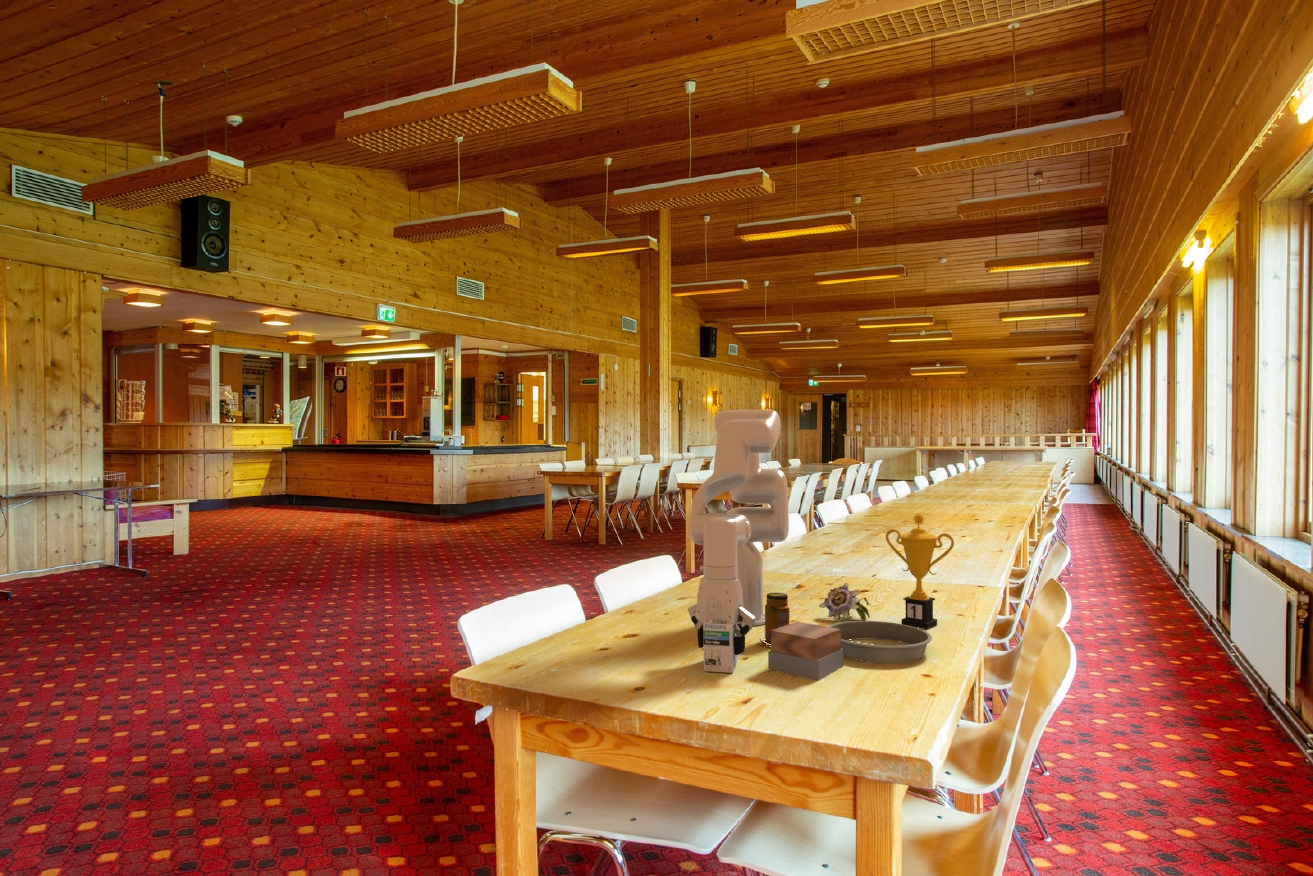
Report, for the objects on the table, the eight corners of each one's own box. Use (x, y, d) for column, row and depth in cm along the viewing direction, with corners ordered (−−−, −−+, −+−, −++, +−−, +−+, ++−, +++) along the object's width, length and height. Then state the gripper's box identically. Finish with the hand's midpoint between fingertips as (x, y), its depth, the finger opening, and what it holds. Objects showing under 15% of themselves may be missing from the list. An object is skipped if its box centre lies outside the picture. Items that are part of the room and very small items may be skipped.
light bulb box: (733, 674, 160) (733, 623, 161) (702, 672, 162) (702, 622, 162) (738, 659, 171) (738, 612, 171) (709, 658, 172) (709, 611, 172)
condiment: (788, 638, 189) (788, 591, 189) (795, 648, 181) (795, 598, 181) (759, 639, 189) (759, 591, 189) (765, 648, 180) (765, 598, 180)
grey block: (768, 672, 163) (768, 651, 163) (794, 659, 173) (794, 640, 173) (818, 682, 156) (818, 661, 156) (843, 668, 165) (842, 648, 165)
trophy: (877, 622, 205) (877, 513, 206) (894, 616, 212) (893, 510, 212) (946, 634, 192) (945, 518, 192) (962, 627, 199) (961, 515, 199)
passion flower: (837, 640, 207) (811, 604, 210) (850, 625, 216) (825, 590, 218) (868, 623, 201) (841, 585, 203) (880, 608, 210) (854, 572, 212)
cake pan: (955, 660, 170) (955, 641, 170) (860, 670, 163) (860, 650, 163) (891, 634, 194) (891, 616, 194) (806, 642, 187) (806, 624, 187)
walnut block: (770, 650, 164) (770, 630, 164) (797, 641, 172) (797, 621, 172) (815, 660, 156) (815, 639, 156) (840, 649, 164) (840, 629, 165)
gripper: (679, 571, 169) (679, 647, 169) (745, 579, 158) (745, 660, 158) (698, 567, 175) (698, 640, 175) (763, 574, 164) (763, 652, 164)
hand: (720, 650), depth 166 cm, fingers closed on light bulb box, 9 cm apart
